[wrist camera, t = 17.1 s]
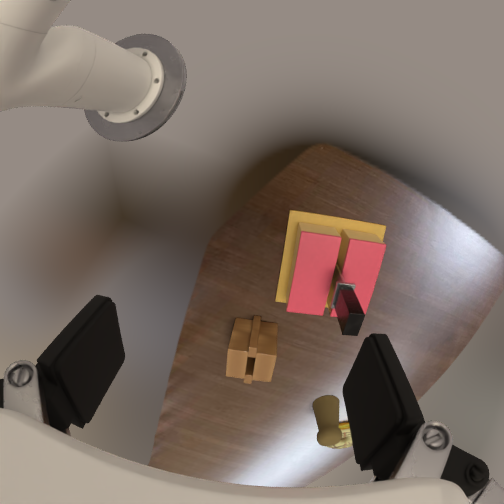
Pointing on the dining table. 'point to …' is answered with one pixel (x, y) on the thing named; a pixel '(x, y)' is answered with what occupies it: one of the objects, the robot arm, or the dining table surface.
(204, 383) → the dining table surface
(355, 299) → the knife
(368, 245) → the cake
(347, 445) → the decorated donut
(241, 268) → the dining table surface
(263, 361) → the knife block
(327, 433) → the olive brown pawn
